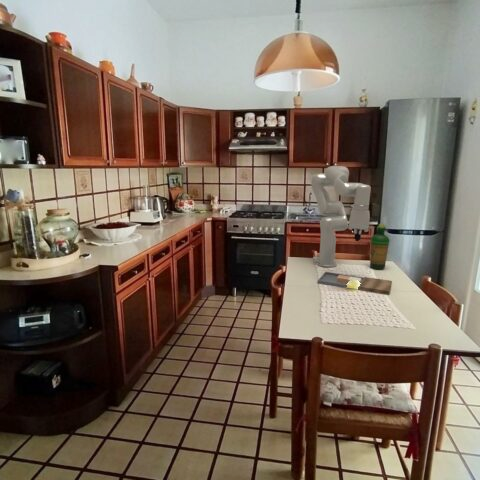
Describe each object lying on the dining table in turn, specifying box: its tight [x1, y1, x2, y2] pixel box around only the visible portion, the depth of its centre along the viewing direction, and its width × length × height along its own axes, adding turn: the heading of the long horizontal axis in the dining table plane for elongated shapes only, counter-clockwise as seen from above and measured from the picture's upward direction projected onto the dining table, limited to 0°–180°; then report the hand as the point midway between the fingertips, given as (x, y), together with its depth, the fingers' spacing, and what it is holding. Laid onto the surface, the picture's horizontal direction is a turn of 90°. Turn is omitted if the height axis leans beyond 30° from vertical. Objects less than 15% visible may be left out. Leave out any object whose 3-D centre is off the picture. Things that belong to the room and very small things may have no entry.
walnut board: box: [359, 276, 393, 296], centre depth 180 cm, size 14×18×2 cm
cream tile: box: [348, 277, 361, 283], centre depth 185 cm, size 6×6×2 cm
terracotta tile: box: [337, 274, 350, 284], centre depth 187 cm, size 6×6×2 cm
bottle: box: [369, 223, 390, 271], centre depth 212 cm, size 11×11×28 cm
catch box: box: [316, 271, 365, 291], centre depth 188 cm, size 22×18×2 cm
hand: (357, 240), depth 188 cm, fingers closed
